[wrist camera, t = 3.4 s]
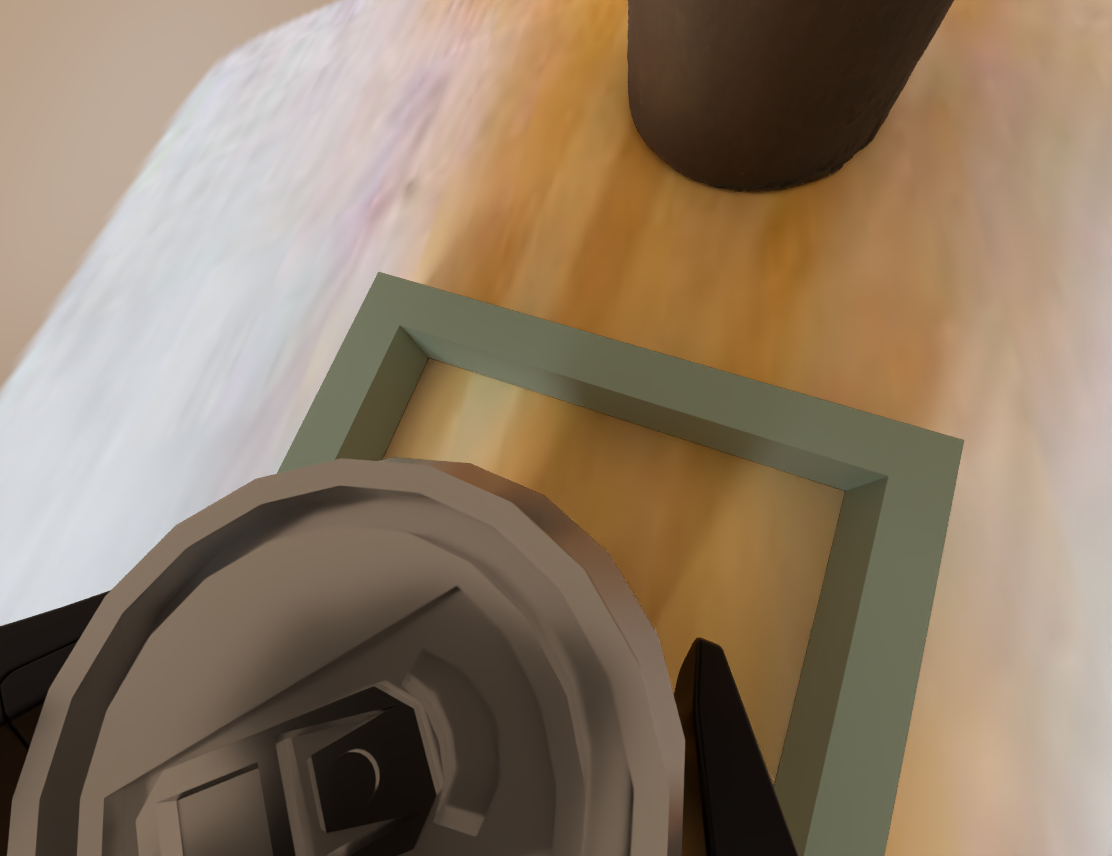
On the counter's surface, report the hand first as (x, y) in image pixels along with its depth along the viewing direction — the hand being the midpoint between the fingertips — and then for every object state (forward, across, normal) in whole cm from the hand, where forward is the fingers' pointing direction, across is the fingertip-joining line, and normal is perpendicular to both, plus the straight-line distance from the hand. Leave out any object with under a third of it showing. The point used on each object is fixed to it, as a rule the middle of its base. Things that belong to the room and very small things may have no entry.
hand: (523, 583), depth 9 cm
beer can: (+4, 0, +6) cm, 7 cm away
